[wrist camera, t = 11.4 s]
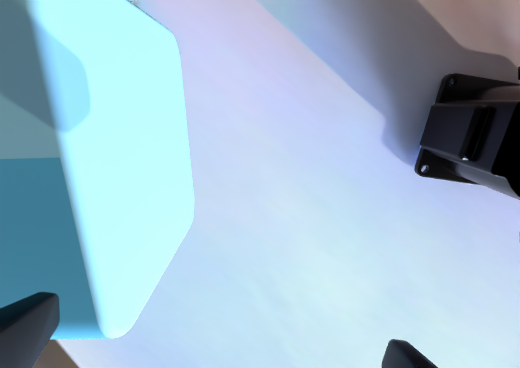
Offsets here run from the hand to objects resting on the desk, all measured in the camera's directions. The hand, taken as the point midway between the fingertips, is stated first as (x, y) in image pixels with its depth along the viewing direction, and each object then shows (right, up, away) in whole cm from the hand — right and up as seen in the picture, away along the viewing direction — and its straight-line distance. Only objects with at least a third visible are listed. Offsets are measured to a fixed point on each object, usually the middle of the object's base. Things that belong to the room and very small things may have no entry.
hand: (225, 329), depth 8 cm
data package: (-6, +7, +12) cm, 15 cm away
